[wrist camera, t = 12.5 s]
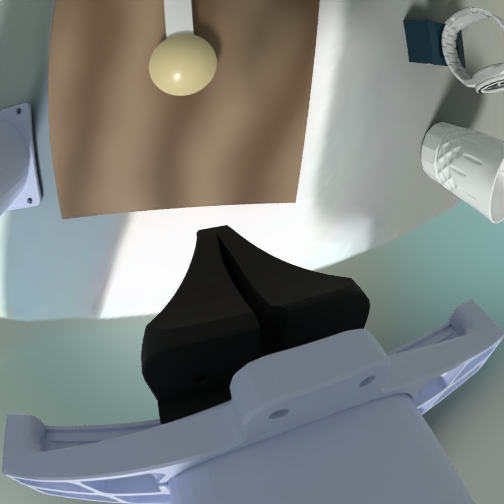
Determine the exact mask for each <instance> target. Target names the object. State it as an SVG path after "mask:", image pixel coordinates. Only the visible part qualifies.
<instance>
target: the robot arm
mask: <svg viewBox="0 0 504 504" xmlns="http://www.w3.org/2000/svg"><path fill="white" fill-rule="evenodd" d="M19 108H20V109H21V113H20V114H19V113H18V109H19ZM29 198H32V200H33V202H31V201H30V200H29ZM41 200H42V197H41V191H40V186H39V180H38V174H37V167H36V159H35V151H34V142H33V131H32V115H31V105H30V104H29V103H22V104H19V105H15V106H12V107H9V108H6V109H2V110H0V216H1V215H2V214H3V212H4V211H8V210H13V209H19V208H25V207H31V206H37V205H39V204H40V202H41ZM196 234H197V242H196V247H195V251H194V255H193V258H192V261H191V263H190V266H189V269H188V271H187V273H186V276H185V278H184V279H183V281H182V283H181V285H180V287H179V288H178V290H177V292H176V293H175V295H174V296H173V298H172V299H171V300H170V301H169V303H168V304H167V305H166V306H165V308H164V309H163V310H162V311H161V312H160V313H159V314H158V315H157V316H156V317H155V318H154V319H153V320H152V321H151V322H150V323H149V324H148V325H147V326H146V329H145V334H144V338H143V344H142V352H141V361H142V374H143V376H144V379H145V381H146V383H147V385H148V386H149V388H150V389H151V391H152V393H153V394H154V396H155V397H156V399H157V400H158V408H159V416H160V419H156V420H148V421H140V422H130V423H120V424H106V425H87V426H86V425H84V426H45V424H44V423H43V422H42V421H41V420H39V419H38V418H37V417H35V416H32V415H28V414H13V413H9V414H7V421H6V429H5V438H4V449H3V465H2V472H3V474H4V475H6V476H8V477H10V478H12V479H14V480H16V481H18V482H20V483H22V484H24V485H26V486H28V487H30V488H32V489H35V490H37V491H39V492H41V493H44V494H49V495H54V496H61V497H68V498H75V499H83V500H91V501H101V502H114V503H135V504H140V503H141V504H160V503H161V504H162V503H172V504H475V503H474V501H473V499H472V498H471V496H470V494H469V492H468V491H467V489H466V487H465V485H464V483H463V482H462V480H461V478H460V477H459V475H458V473H457V471H456V470H455V468H454V466H453V465H452V463H451V461H450V460H449V458H448V456H447V455H446V453H445V451H444V450H443V448H442V447H441V445H440V443H439V442H438V440H437V438H436V437H435V436H434V434H433V432H432V431H431V429H430V427H429V426H428V424H427V423H426V421H425V420H424V418H423V416H422V414H424V413H425V412H426V411H428V410H429V409H430V408H432V407H433V406H434V405H436V404H437V403H438V402H440V401H441V400H442V399H444V398H445V397H446V396H447V395H449V394H450V393H451V392H452V391H454V390H455V389H456V388H457V387H459V386H460V385H461V384H462V383H464V382H465V381H466V380H467V379H468V378H469V377H471V376H472V375H473V374H474V373H476V372H477V371H478V370H479V369H480V368H481V366H482V365H483V364H484V363H485V361H486V360H487V359H488V357H489V356H490V355H491V353H492V352H493V351H494V349H495V348H496V347H497V345H498V344H499V342H500V341H501V340H502V338H503V337H504V332H503V331H502V330H501V329H500V328H499V327H498V326H497V325H496V324H495V323H494V322H493V320H492V319H491V318H490V317H489V316H488V315H487V314H486V313H485V312H484V311H483V310H482V309H481V308H480V307H479V306H478V305H477V304H476V303H475V302H474V301H473V300H472V299H470V300H468V301H466V302H465V303H463V304H461V305H459V306H458V307H457V308H456V309H455V310H454V311H453V313H452V314H451V316H450V318H449V322H447V323H445V324H443V325H442V326H440V327H438V328H436V329H434V330H432V331H430V332H429V333H427V334H425V335H423V336H421V337H419V338H417V339H415V340H413V341H411V342H409V343H407V344H405V345H403V346H401V347H399V348H397V349H394V350H392V351H390V352H388V353H385V352H384V350H383V349H382V348H381V347H380V345H379V343H378V342H377V341H376V339H375V338H374V336H373V335H372V334H371V333H369V332H368V331H367V330H365V329H364V326H365V323H366V320H367V317H368V314H369V309H370V302H369V299H368V298H367V296H366V295H365V293H364V292H363V291H362V290H361V288H360V287H359V286H358V285H357V284H356V283H355V282H354V281H353V280H352V279H351V278H346V277H340V276H333V275H327V274H323V273H318V272H314V271H311V270H307V269H304V268H301V267H298V266H295V265H292V264H290V263H287V262H285V261H282V260H280V259H278V258H276V257H274V256H272V255H270V254H268V253H266V252H265V251H263V250H261V249H259V248H258V247H256V246H255V245H253V244H252V243H250V242H249V241H247V240H246V239H244V238H243V237H242V236H241V235H239V234H238V233H237V232H235V231H234V230H233V229H232V228H230V227H229V226H228V225H225V226H219V227H214V228H208V229H203V230H198V232H197V233H196Z"/></svg>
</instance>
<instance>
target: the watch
mask: <svg viewBox="0 0 504 504" xmlns="http://www.w3.org/2000/svg"><path fill="white" fill-rule="evenodd" d="M489 17H492V18H493V19H494V20H496V21H497V23H499V24H500V26H501V27H502V29H503V30H504V21H503V20H502V19H501V18H499V17H498V16H496V15H494V14H492V13H490V12H488V11H486V10H484V9H480V8H474V7H467V8H464V9H462V10H460V11H458V12H456V13H454V14H453V15H452V16H451V17H449V18H448V19H447V20H446V21H445V22H444V23H445V24H446V25H445V24H442V23H438V22H434V21H430V20H406V21H403V22H404V28H405V34H406V40H407V47H408V55H409V62H416V63H425V64H431V65H442V66H449V68H450V70H451V71H452V73H454V75H455V76H456V78H457V79H458V80H460V81H461V82H462V83H463V84H464V85H466V86H467V87H474V88H476V91H477V93H481V94H485V93H493V92H498V91H501V90H504V63H498V64H493V65H489V66H487V67H484V68H482V69H480V70H479V71H477V72H476V73H475V74H474V75H473V77H472V78H471V77H470V76H469V75H468V74H467V72H466V71H465V69H464V68H465V59H464V49H463V41H462V33H461V30H464V29H465V28H466V27H468V26H469V25H471V24H472V23H474V22H477V21H480V20H483V19H485V18H488V19H489Z"/></svg>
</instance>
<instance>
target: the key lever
mask: <svg viewBox="0 0 504 504" xmlns="http://www.w3.org/2000/svg"><path fill="white" fill-rule="evenodd" d="M164 12H165V27H166V40H164V41H163V42H161V43H160V44H159V45H158V46H157V47H156V49H155V50H154V51H153V53H152V55H151V58H150V62H149V73H150V76H151V79H152V81H153V82H154V84H155V85H156V86H157V87H158V88H159V89H160V90H162V91H163V92H165V93H168V94H171V95H176V96H185V95H190V94H193V93H196V92H198V91H200V90H201V89H203V88H204V87H205V86H206V85H207V84H208V83H209V82H210V81H211V80H212V78H213V76H214V74H215V71H216V67H217V58H216V54H215V51H214V49H213V48H212V46H211V45H210V44H209V43H208V42H207V41H206V40H204V39H203V38H201V37H199V36H196V35H194V32H193V19H192V5H191V0H164Z"/></svg>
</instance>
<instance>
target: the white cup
mask: <svg viewBox="0 0 504 504" xmlns="http://www.w3.org/2000/svg"><path fill="white" fill-rule="evenodd" d="M421 161H422V166H423V170H424V171H425V172H426V173H427V175H428V176H429V177H431V178H432V179H434V180H435V181H437V182H439V183H440V184H442V185H443V186H444V187H445V188H447V189H448V190H449V191H451V192H452V193H454V194H455V195H456V196H458V197H459V198H460V199H462V200H463V201H465V202H466V203H468V204H469V205H470V206H472V207H473V208H475V209H476V210H477V211H479V212H480V213H481V214H483V215H484V216H485V217H487V218H488V219H489V220H490V221H492V222H493V223H500V222H501V221H503V220H504V141H502V140H500V139H497V138H495V137H492V136H489V135H487V134H484V133H481V132H478V131H475V130H472V129H468V128H465V127H459V126H455V125H452V124H449V123H445V122H440V123H437V124H434V125H433V126H432V127H431V128H430V129H429V131H428V132H427V133H426V136H425V138H424V141H423V143H422V150H421Z"/></svg>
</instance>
